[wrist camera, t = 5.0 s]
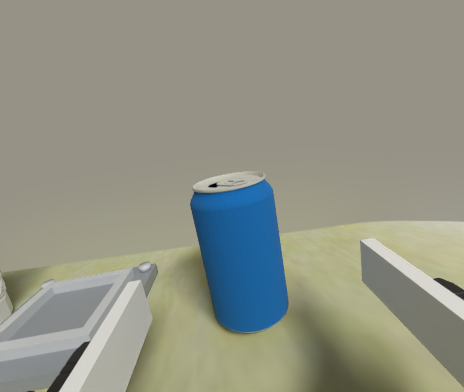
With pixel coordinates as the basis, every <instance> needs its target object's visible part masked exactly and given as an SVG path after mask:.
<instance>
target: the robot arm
mask: <svg viewBox="0 0 464 392" xmlns="http://www.w3.org/2000/svg"><path fill="white" fill-rule="evenodd" d="M360 246H361V266H362V281H363V282H364V283H365V284H366V285H367V286H368V288H369V289H370V290H371V291H372V292H373V293H374V294H375V295H376V296H377V297H378V298H379V299H380V300H381V301H382V302H383V303H384V304H385V305H386V306H387V307H388V309H389V310H390V311H391V312H392V313H393V314H394V315H395V316H396V317H397V318H398V319H399V320H400V321H401V322H402V323H403V324H404V325H405V326H406V327H407V328H408V330H409V331H410V332H411V333H412V334H413V335H414V336H415V337H416V338H417V339H418V340H419V341H420V342H421V343H422V344H423V345H424V346H425V347H426V348H427V349H428V351H429V352H430V353H431V354H432V355H433V356H434V357H435V358H436V359H437V360H438V361H439V362H440V363H441V364H442V365H443V366H444V367H445V368H446V369H447V370H448V371H449V373H450V374H451V375H452V376H453V377H454V378H455V379H456V380H457V381H458V382H459V383H460V384H461V385H462V386H463V387H464V290H463V289H461V288H460V287H458V286H457V285H455V284H454V283H451V282H449V281H446V280H444V279H441V278H435V279H432V278H430V277H429V276H427V275H426V274H425V273H423V272H422V271H420V270H419V269H417V268H416V267H414V266H413V265H412V264H410V263H409V262H407V261H406V260H404V259H403V258H401V257H400V256H398V255H397V254H396V253H394V252H393V251H391V250H390V249H388V248H387V247H385V246H384V245H383V244H381V243H380V242H378V241H377V240H375V239H374V238H370V239H365V240H360ZM152 319H153V318H152V314H151V311H150V308H149V305H148V301H147V298H146V295H145V292H144V288H143V285H142V282H141V280H137V281H131V282H128V283H127V285H126V286H125V288H124V289H123V291H122V293H121V294H120V296H119V297H118V299H117V301H116V302H115V304H114V305H113V307H112V308H111V310H110V312H109V313H108V315H107V316H106V318H105V320H104V321H103V323H102V324H101V326H100V328H99V329H98V331H97V332H96V334H95V335H94V337H93V339H92V340H91V341H88V342H84V343H83V344H82V345H81V346H80V347H78V348H77V349H76V350H75V351H74V352H73V354H72V355H71V357H70V358H69V359H68V361H67V362H66V365H65V366H64V367H63V368H62V370H61V371H60V374H59V375H58V376H57V377H56V379H55V380H54V382H53V383H52V385H51V386H50V387H49V389H48V390H47V392H126V389H127V386H128V383H129V381H130V378H131V375H132V373H133V370H134V367H135V365H136V362H137V359H138V357H139V354H140V351H141V349H142V346H143V343H144V341H145V338H146V335H147V333H148V330H149V327H150V325H151V322H152ZM28 392H34V391H28Z"/></svg>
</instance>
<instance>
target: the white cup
mask: <svg viewBox="0 0 464 392" xmlns="http://www.w3.org/2000/svg"><path fill="white" fill-rule="evenodd" d="M12 311H13V306H12V303H11V301H10V298H9V296H8V293H7V292H6V286H5V282H4V280H3V278H2V275H1V271H0V324H1V323H2V322H3V321H4V320H5V319H6V318H8V317H9V316H10V315H11V314H12Z"/></svg>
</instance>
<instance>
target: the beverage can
mask: <svg viewBox="0 0 464 392" xmlns="http://www.w3.org/2000/svg"><path fill="white" fill-rule="evenodd" d="M192 189H193V191H194V195H193V197H192V199H191V203H190V206H191V210H192V214H193V219H194V223H195V228H196V232H197V236H198V241H199V245H200V250H201V254H202V258H203V263H204V267H205V271H206V276H207V280H208V284H209V289H210V293H211V298H212V302H213V306H214V311H215V315H216V317H217V320H218V321H219V322H220V323H221V324H222V325H223V326H224V327H226V328H227V329H229V330H232V331H235V332H240V333H256V332H260V331H263V330H266V329H268V328H270V327H272V326H273V325H275V324H277V323H278V322H279V321H280V320H281V319H282V318H283V317H284V315H285V314H286V312H287V309H288V295H287V287H286V280H285V273H284V266H283V259H282V251H281V244H280V237H279V230H278V224H277V216H276V208H275V202H274V195H273V189H272V187H271V186H270V185H269V183H267V182H266V181H265V174H264V173H263V172H257V171H248V172H237V173H230V174H225V175H220V176H216V177H212V178H208V179H205V180H203V181H200V182H198V183H196V184H194V185H193V187H192Z"/></svg>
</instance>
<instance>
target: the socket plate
mask: <svg viewBox="0 0 464 392" xmlns="http://www.w3.org/2000/svg"><path fill="white" fill-rule="evenodd" d="M157 273H158V270H157V266H156V264H150V262H144V263H142V264H140V265H139V266H138V267H134V268H128V269H123V270H118V271H112V272H107V273H101V274H96V275H90V276H85V277H79V278H74V279H68V280H63V281H57V282H55V280H54V279H51V280H48V281H45V282H44V283H42V284H41V287H42V288H41V289H40V290H39V291H38V292H37V293H35V294H34V295H33V296H32V297H31V298H30V299H28V300H27V301H26V302H25V303H24V304H23V305H21V306H20V307H19V308H18V309H17V310H16V311H15V312H13V313H12V314H11V315H10V316H9V317H8V318H6V319H5V320H4V321H3V322H2V323H1V324H0V392H26V391H31V390H37V389H42V388H48V387H50V386H51V385H52V383H53V382H54V380H55V379H56V377H57V376H58V375H59V374H60V371H61V370H62V368H63V367H64V366H65V365H66V362H67V361H68V359H69V358H70V357H71V355H72V354H73V352H74V351H75V350H76V349H77V348H78V347H80V346H81V345H82V344H83V343H84V342H88V341H91V340H92V339H93V337H94V335H95V334H96V332H97V331H98V329H99V328H100V326H101V324H102V323H103V321H104V320H105V318H106V316H107V315H108V313H109V312H110V310H111V308H112V307H113V305H114V304H115V302H116V301H117V299H118V297H119V296H120V294H121V293H122V291H123V289H124V288H125V286H126V285H127V283H128V282H131V281H137V280H141V282H142V285H143V288H144V292H145V295H146V297H147V295H148V293H149V291H150V289H151V286H152V284H153V282H154V280H155V278H156V275H157Z"/></svg>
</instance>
